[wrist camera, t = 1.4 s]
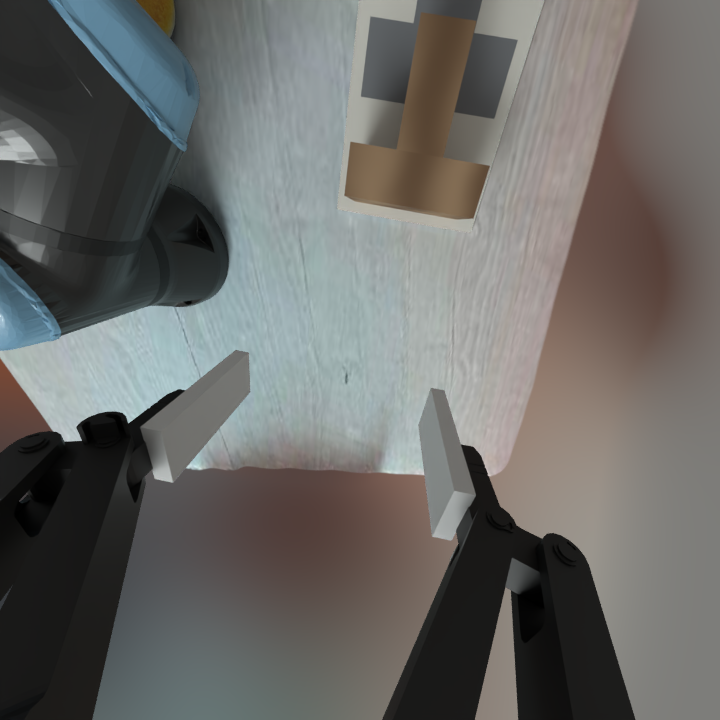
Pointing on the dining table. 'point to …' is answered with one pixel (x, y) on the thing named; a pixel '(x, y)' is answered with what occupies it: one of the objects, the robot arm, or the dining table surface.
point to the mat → (476, 96)
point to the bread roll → (161, 13)
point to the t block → (424, 134)
